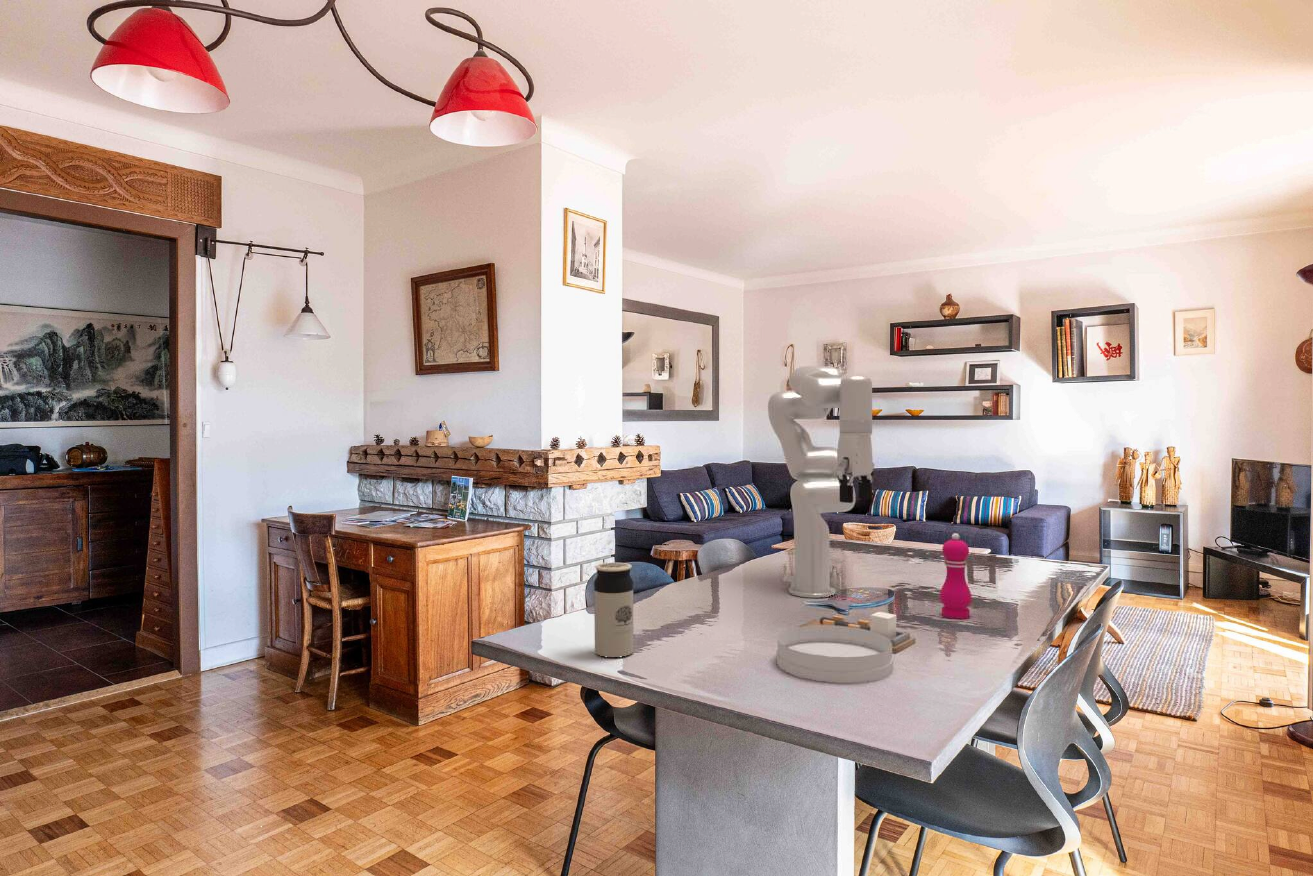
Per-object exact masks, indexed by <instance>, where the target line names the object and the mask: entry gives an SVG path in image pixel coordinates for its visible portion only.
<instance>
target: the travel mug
mask: <svg viewBox="0 0 1313 876" xmlns="http://www.w3.org/2000/svg"><path fill="white" fill-rule="evenodd" d="M594 567H595V569H596V575H597V576H596V577H595V579H594V582H593V585H594V587H593V588H594V592H593V593H594V595H593V596H594V597H593V598H594V600H593V601H594V602H593V605H594V609H593V610H594V614H593V616H594V653H595V654H596V655H597V654H598V655H597V656H599V655H600V656H599V657H601V656H607V657H620V656H625V657H628V656H630V655H632V654H633V653H634V645H635V644H634V643H635V641H634V639H635V638H634V637H635V636H634V635H635V634H634V580H633V578H632V576H631V575H630V574H631V569H632V568H633V566H632V565H631V564H630V563H627V562H603V563H598V564H596V565H595V566H594ZM627 655H628V656H627Z"/></svg>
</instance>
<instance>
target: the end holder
mask: <svg viewBox="0 0 1313 876" xmlns="http://www.w3.org/2000/svg"><path fill="white" fill-rule="evenodd" d="M910 637H911V633H910V632H906V631H901V630H896V637H895V638H893V639H891V638H888V639H889V640H890V641H891V643H892V646H897V645H899V644H901V643H903V642H905V641H906V640H908V639H910Z"/></svg>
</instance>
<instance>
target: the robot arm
mask: <svg viewBox="0 0 1313 876" xmlns="http://www.w3.org/2000/svg"><path fill="white" fill-rule="evenodd" d="M788 385H789V388H790V389H791V390H781V391H777V392H774V393H773V394H772V395H771V396H770V397H769V399H768V401H767V402H768V403H767V414H768V415H767V416H768V419H769V423H770V425H771V428H772V429H773V432H774V434H775V435H776V437H777V438H778V441H779V443H780V444H781V449H782V452H783V456H784V459H785V463H786V467H787V469H788V471H789V474H790V476H791V478H793V479H794V480H796V481H795V482H794V483H792V485H791V487H790V502H791V506H792V508H791V509H792V514H793V538H794V539H793V544H794V545H793V547H794V548H793V549H794V550H793V551H794V552H793V555H794V557H793V558H794V559H793V560H794V564H793V565H794V570H793V571H794V574H792V575H791V574H787V573H786V574H784V575H783V579H782V582H783V583H790V586H789V587H788V593H789V594H790V595H792V596H796V597H800V598H815V599H816V598H817V599H818V598H819V599H820V598H821V597H822V598H828V597H829V596H830V597H832V596H831V595H833V596H835V595H836V588H835V587H832V586H831V584H830V583H831V581H830V580H831V579H830V578H831V576H830V573H831V572H830V571H831V567H830V566H831V565H830V562H831V561H830V559H831V558H830V556H831V555H830V551H831V550H830V549H831V547H830V544H831V542H830V529H829V525H828V523H827V521H826V520H824V518H823V517H822V515H821V514H826V513H845V512H849V511H851V510H852V509H853V508H854V506H855V504H856V492H855V487H854V483H853V481H854V478H856V477H858V479H859V482H858V499H860V500H872V498H873V489H872V488H873V476H874V469H875V464H874V462H873V443H872V436H871V435H873V382H872V379H871V378H870V376H869V377H868V376H862V375H859V376H857V375H852V376H851V375H850V376H844V377H843V374H842V373H841V372H840V370H839V369H838V368H837V367H835V366H831V365H829V366H827V365H825V366H819V365H817V366H815V365H814V366H811V365H810V366H809V365H807V366H806V365H805V366H799V367H797V368H796V369H794V370H793V371H792V372H791V374H789V378H788ZM832 409H839V411H838V413H839V437H838V440H837V441H838V443H837V447H833V446H815V445H813V442H812V439H811V436H810V434H809V432H808V431H807V430H806V429H805V427H803V426H802V425H801V424H800V423H798V422H797V421H796V420H820V419H824V418H826V417H828V415H829V413H830V412H831V410H832ZM834 594H835V595H834ZM830 597H829V598H830ZM822 598H821V599H822Z"/></svg>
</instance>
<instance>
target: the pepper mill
mask: <svg viewBox="0 0 1313 876" xmlns="http://www.w3.org/2000/svg"><path fill="white" fill-rule="evenodd" d="M942 545H943V546H942V550H941V551H942V554H943V556H944V557H945V558H944V560H943V561H944V566H945V567H946V577H945V580H944V583H943V584H942V587H941V589H940V591H939V600H940V602H941V603H942V604H943V606H942V607H941V615H942V616H943V617H945V618H948V619H954V620H955V619H956V620H961V619H962V620H965V619H969V618H970V612H971V611H970V608H968V607H969V606H970V604H971V603H972V600H973V599H972V592H971V590H970V587H969V586H968V584H967V581H966V577H965V576H966V575H965V570H966V569H965V568H967V562H968V561H967V560H966V559H967V557H968V556H969V554H970V549H969V545H968V544H967V543H966V542H964V541H963V540H961V539H960V534H959V533H953V534H952V535H951V539H950V540H949V539H948V540H947V541H945V542H944V543H943V544H942ZM968 617H969V618H968Z"/></svg>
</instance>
